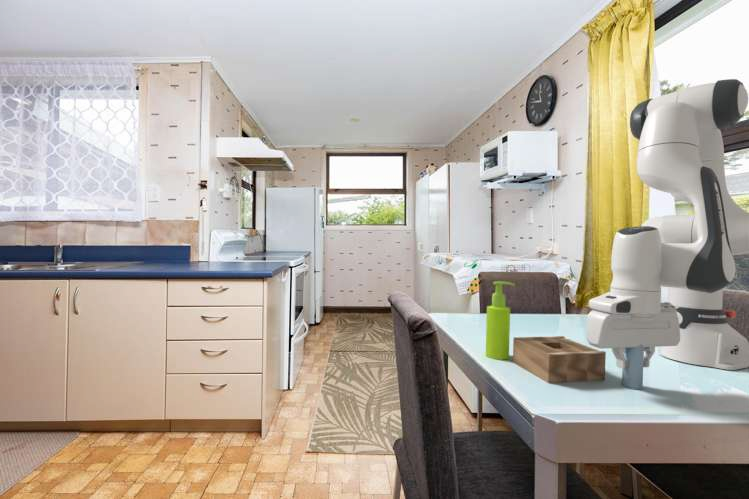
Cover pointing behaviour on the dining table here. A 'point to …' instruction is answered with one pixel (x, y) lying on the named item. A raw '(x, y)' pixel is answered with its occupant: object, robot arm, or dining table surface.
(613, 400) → the dining table surface
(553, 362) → the socket block
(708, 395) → the dining table surface
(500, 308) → the soap dispenser
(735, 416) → the dining table surface
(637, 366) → the dowel
